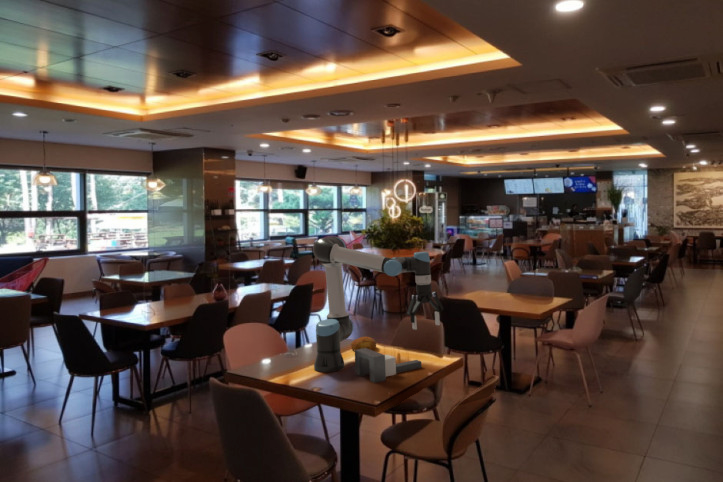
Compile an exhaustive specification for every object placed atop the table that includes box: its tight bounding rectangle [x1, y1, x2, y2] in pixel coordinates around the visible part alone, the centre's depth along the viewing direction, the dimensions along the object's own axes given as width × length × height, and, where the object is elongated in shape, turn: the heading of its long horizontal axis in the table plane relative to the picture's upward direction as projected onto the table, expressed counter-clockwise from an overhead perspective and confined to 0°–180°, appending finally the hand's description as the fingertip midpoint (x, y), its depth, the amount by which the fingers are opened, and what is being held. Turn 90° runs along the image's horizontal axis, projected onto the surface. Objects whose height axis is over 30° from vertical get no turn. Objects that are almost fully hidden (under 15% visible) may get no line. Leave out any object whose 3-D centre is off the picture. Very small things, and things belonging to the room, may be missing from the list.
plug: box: [384, 354, 422, 377], centre depth 259 cm, size 7×24×8 cm, turn 120°
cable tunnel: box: [354, 348, 387, 384], centre depth 251 cm, size 17×6×12 cm, turn 31°
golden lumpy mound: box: [350, 335, 377, 351], centre depth 305 cm, size 14×16×8 cm
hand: (426, 327), depth 264 cm, fingers open, 13 cm apart
